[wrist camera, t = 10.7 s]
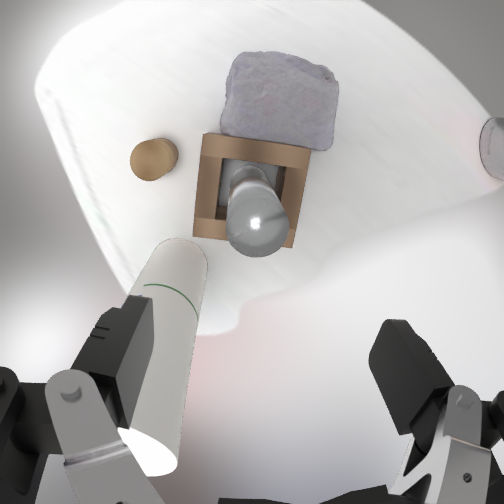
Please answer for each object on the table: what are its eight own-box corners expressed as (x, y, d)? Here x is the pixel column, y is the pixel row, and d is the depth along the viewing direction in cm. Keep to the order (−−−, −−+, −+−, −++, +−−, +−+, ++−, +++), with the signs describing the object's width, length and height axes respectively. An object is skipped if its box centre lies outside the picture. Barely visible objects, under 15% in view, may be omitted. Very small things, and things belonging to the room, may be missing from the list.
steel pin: (269, 167, 32) (294, 202, 19) (264, 202, 34) (282, 260, 20) (233, 163, 32) (229, 193, 18) (228, 198, 34) (222, 253, 20)
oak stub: (179, 139, 31) (171, 141, 27) (176, 175, 32) (167, 182, 28) (145, 137, 30) (131, 139, 26) (142, 172, 32) (129, 179, 28)
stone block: (229, 59, 29) (217, 141, 31) (230, 41, 24) (217, 134, 26) (330, 76, 30) (324, 156, 32) (346, 62, 26) (340, 152, 28)
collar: (300, 145, 31) (311, 149, 27) (285, 231, 35) (292, 248, 31) (208, 132, 30) (203, 134, 26) (198, 220, 34) (192, 236, 30)
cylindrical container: (140, 252, 36) (43, 420, 13) (190, 228, 35) (123, 409, 12) (169, 298, 38) (116, 476, 15) (217, 278, 37) (200, 472, 15)
